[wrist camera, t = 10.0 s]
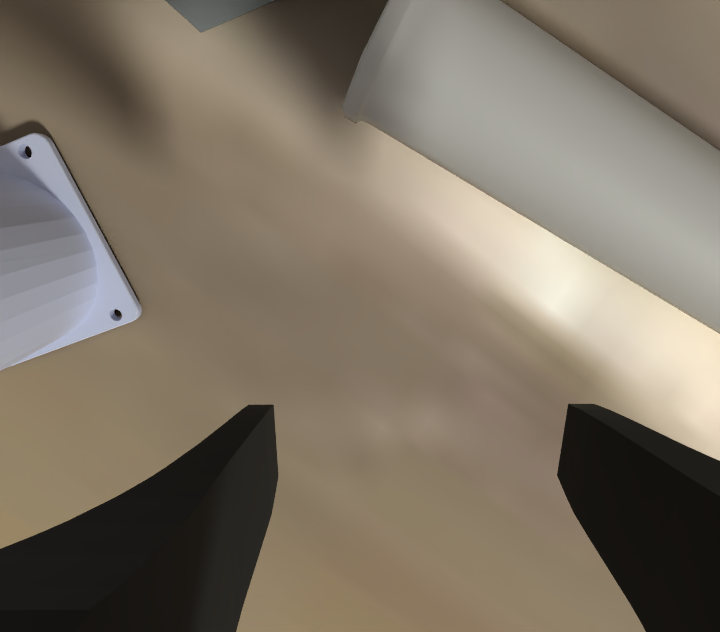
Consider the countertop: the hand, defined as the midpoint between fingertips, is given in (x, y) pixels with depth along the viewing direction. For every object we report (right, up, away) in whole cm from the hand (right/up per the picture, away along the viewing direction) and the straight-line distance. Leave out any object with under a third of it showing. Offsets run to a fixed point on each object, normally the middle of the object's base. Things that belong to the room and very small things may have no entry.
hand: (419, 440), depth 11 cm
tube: (+10, +7, +8) cm, 15 cm away
